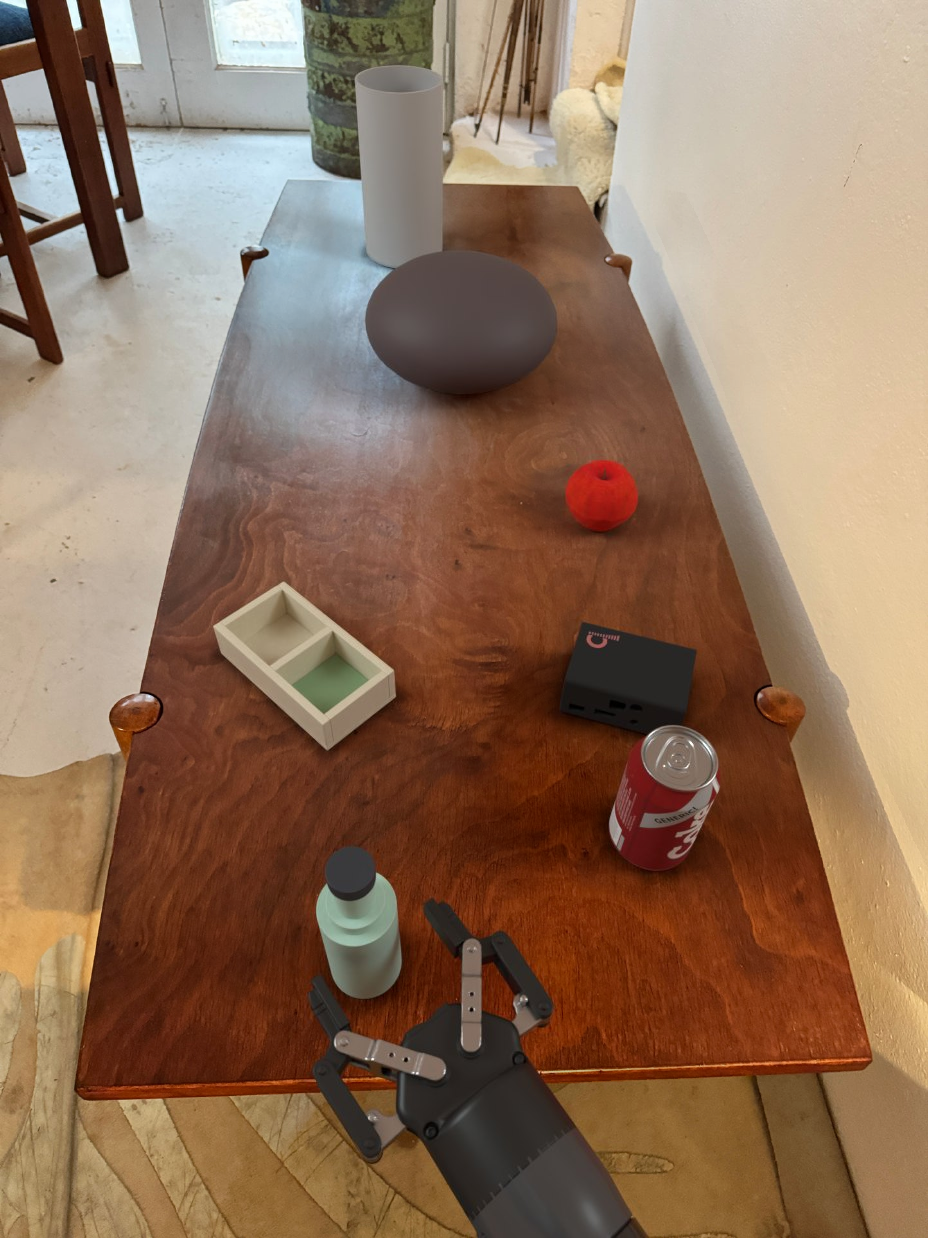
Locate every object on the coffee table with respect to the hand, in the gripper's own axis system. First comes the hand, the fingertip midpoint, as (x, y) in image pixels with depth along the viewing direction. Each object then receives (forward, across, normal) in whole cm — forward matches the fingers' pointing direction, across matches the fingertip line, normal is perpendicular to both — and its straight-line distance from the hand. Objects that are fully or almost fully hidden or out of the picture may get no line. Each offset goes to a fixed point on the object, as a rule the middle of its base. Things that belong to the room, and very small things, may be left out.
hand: (373, 942), depth 55 cm
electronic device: (+9, -32, +8) cm, 34 cm away
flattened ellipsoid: (+62, -52, +8) cm, 81 cm away
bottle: (+2, 0, +8) cm, 8 cm away
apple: (+29, -47, +8) cm, 56 cm away
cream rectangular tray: (+28, -10, +8) cm, 31 cm away
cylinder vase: (+96, -66, +8) cm, 116 cm away
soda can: (-3, -24, +8) cm, 26 cm away
